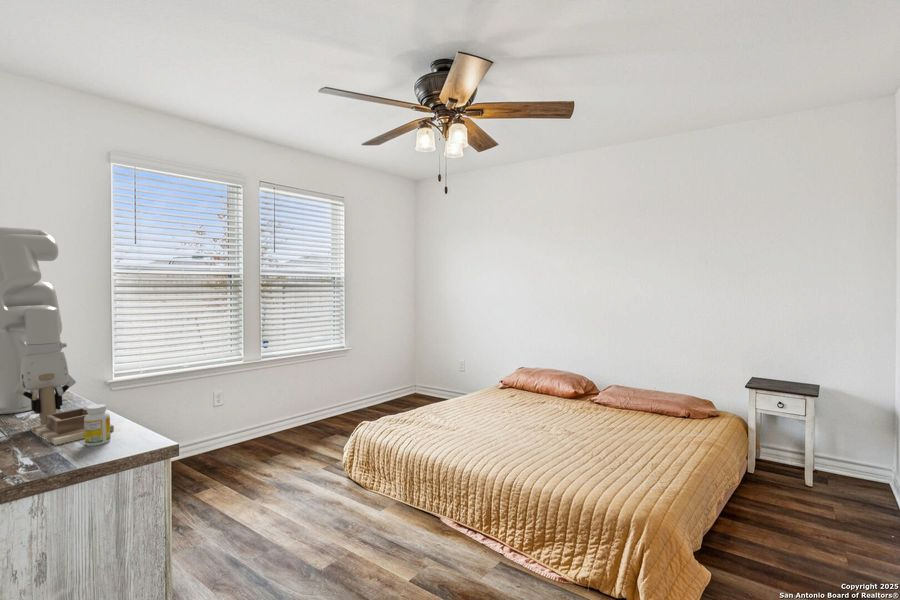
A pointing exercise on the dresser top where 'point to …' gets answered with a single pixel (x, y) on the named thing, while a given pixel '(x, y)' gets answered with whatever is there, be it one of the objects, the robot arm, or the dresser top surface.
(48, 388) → the handle
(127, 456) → the dresser top surface
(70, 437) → the wooden base with box
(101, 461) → the dresser top surface
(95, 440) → the supplement bottle
